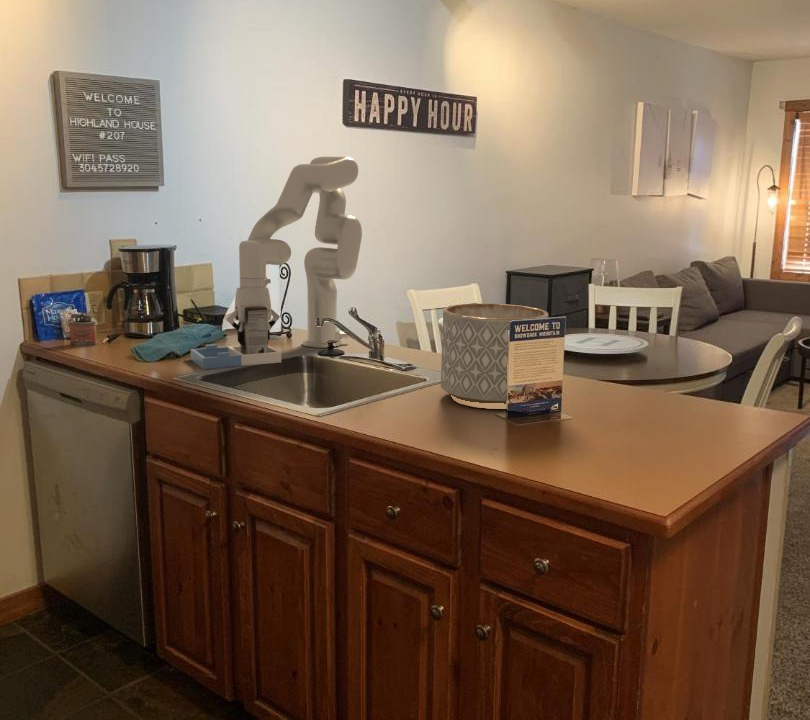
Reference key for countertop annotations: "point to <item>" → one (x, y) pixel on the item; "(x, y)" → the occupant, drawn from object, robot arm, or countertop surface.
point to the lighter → (82, 330)
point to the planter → (479, 349)
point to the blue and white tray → (231, 357)
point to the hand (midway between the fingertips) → (253, 343)
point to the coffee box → (255, 331)
